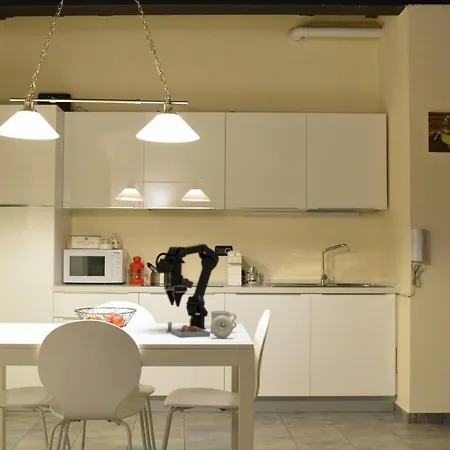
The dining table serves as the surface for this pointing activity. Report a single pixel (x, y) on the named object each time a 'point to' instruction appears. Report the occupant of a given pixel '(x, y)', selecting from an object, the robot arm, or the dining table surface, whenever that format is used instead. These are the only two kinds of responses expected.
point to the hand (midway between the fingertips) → (175, 305)
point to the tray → (190, 333)
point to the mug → (224, 313)
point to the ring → (189, 329)
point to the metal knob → (169, 326)
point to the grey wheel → (216, 330)
